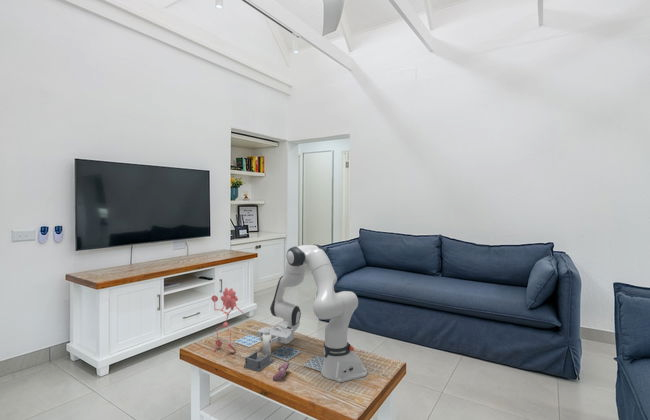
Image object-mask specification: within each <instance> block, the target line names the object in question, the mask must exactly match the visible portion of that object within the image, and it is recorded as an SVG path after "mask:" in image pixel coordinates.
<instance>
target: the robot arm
mask: <svg viewBox="0 0 650 420" xmlns="http://www.w3.org/2000/svg"><path fill="white" fill-rule="evenodd" d="M306 266H309V268H310V271H311V274H312V277H313V280H314V283H315V285H316V293H317V294H316V298H315V300H314V303H313V305H312V307H313V308H312V309H313V313H314V316H315V317H317V318H318V319H319V320H329V322H328V323H327V324H325V325H326V326H325V327H324V343H323V351H322V352H323V362H322V366H321V367H322V368H321V370H320V374H321V375H322V376H323V377H324V378H326V379H329V380H333V381H335V382H338V383H344V382H347V381H351V380H356V379H360V378H363V377H364V378H365V377H366V376H367V375H368V371H367V368H366V366H365V365H364V364H363V363H362V360H361V358H360V357H359V355H358V354H357V353H355V352H354V349H355V347H354V346H353V345H351V344H350V343H349V342H348V333H349V332H348V329H349V324H350V322H351V319H352V316H353V314H354V312H355V310H357V308H358V306H359V299H358V296H357V294H356V293H355V292H353V291H350V290H349V291H348V290H342V291H339V292H336V291H335V284H336V283H337V282H338V276H337V274H336V272H335V269H334V267H333V265H332V263H331V260H330V258H329V257H328V255H327V254H326V252H325V249H324V248H323V246H321V245H320V244H301V245H298V246H292V247H290V248H288V250H287V253H286V266H285V270H284V274H283V275H281V276H280V277H279V280H278V281H277V285H276V289H275V293H274V296H273V299H272V302H271V304H270V308H269V309H270V313H271V315H272V316H273V317H277V318H279V319H280V318H281V319H283V320H282V321H280V322H278V323H277V324H275V325H274V326H273V327H268V326H265V327H261V328H259V329H257V331H256V336H257V337H258V338H260V341H262V342H263V334H264V331H265V330H270V333H271V339H270V340H269V341H270V342H269V343H271V344H273V343H277V342H278V343H281V344H285V345H286V344H289V343H291V342H292V341H293V340H294V334H295V333H294V332H295V331H297V330H298V329H299V327H300V324H301V323H300V319H301V315H302V313H301V309H300V306H299V305H296V304H293V303H290V302H287V301H285V300H284V299H283V297H284V295H285V291H286V288H291V287H292V288H293V287H296V286H299V285H300V284H302V282H304V278H305V273H306Z"/></svg>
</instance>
